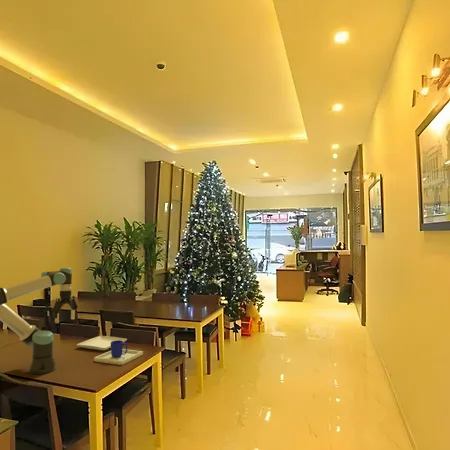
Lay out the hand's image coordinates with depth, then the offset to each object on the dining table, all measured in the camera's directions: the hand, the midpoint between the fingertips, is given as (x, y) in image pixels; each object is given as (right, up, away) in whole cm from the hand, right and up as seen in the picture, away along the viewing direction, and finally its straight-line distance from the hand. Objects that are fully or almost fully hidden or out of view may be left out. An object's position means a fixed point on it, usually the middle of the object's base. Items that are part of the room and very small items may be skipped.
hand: (64, 321), depth 256 cm
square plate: (+16, -28, +31) cm, 44 cm away
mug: (+37, -25, 0) cm, 45 cm away
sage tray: (+38, -26, 0) cm, 45 cm away
